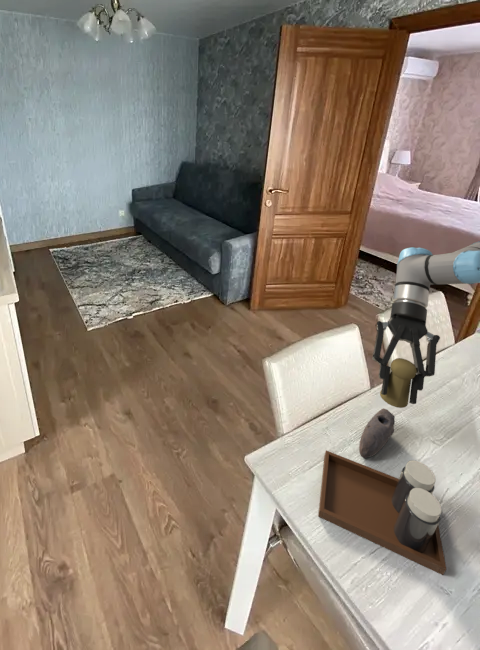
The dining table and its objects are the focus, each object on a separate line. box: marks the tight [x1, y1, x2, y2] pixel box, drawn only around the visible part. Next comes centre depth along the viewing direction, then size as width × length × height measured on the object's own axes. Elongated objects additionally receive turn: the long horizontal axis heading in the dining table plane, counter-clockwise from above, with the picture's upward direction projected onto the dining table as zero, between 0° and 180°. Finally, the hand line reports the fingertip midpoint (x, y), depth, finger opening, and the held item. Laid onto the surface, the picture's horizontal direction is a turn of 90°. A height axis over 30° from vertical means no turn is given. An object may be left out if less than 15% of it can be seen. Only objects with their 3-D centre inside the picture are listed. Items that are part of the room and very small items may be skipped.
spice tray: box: [317, 450, 447, 576], centre depth 73 cm, size 22×15×3 cm
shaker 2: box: [394, 488, 443, 553], centre depth 67 cm, size 6×6×11 cm
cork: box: [379, 357, 417, 409], centre depth 83 cm, size 6×6×11 cm
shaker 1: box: [392, 460, 437, 513], centre depth 72 cm, size 6×6×11 cm
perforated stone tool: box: [358, 408, 396, 459], centre depth 87 cm, size 15×5×7 cm, turn 128°
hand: (398, 398), depth 81 cm, fingers closed on cork, 5 cm apart
